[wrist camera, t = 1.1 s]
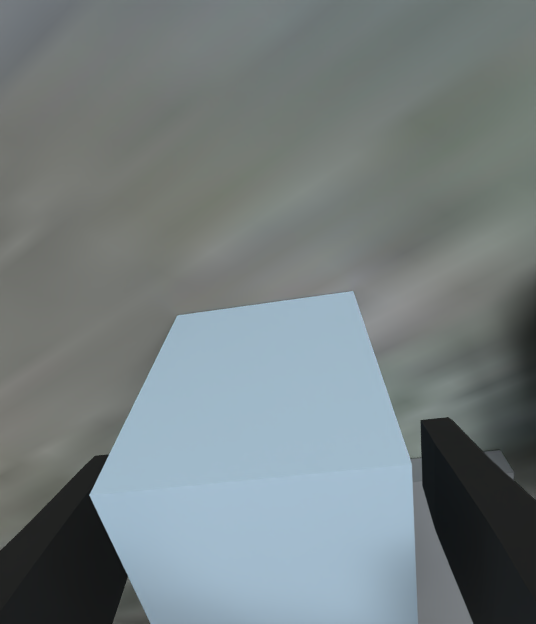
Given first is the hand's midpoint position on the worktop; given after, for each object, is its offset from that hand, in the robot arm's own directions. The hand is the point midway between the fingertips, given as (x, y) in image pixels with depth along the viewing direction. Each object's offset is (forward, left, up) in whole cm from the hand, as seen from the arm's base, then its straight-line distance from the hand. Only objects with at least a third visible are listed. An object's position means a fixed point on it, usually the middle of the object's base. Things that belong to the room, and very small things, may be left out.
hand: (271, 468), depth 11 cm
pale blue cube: (0, 0, -4) cm, 4 cm away
